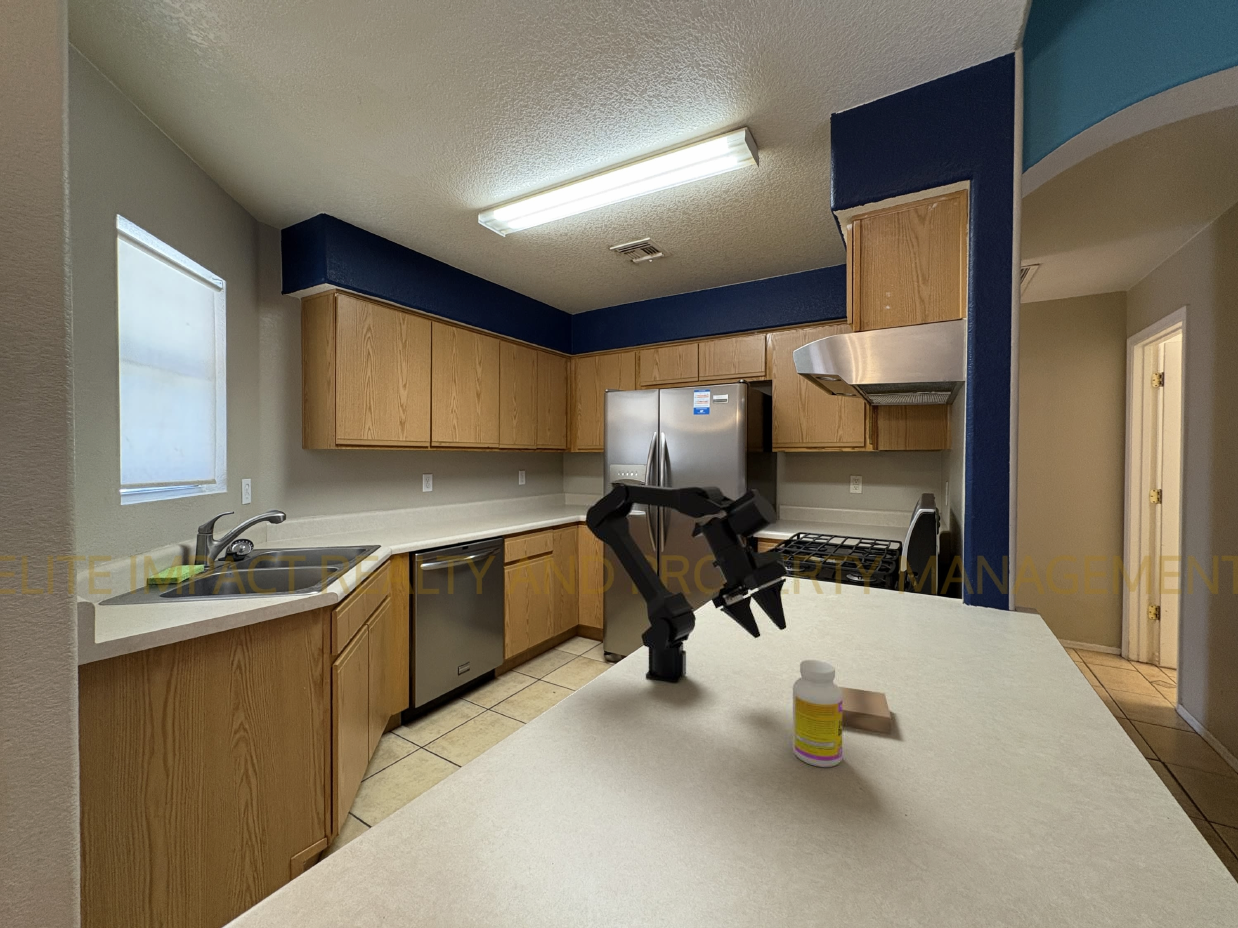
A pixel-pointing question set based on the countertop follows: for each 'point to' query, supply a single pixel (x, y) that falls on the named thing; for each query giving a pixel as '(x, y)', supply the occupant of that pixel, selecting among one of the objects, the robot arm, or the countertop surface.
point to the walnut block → (865, 710)
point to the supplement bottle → (817, 715)
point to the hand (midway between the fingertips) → (770, 633)
